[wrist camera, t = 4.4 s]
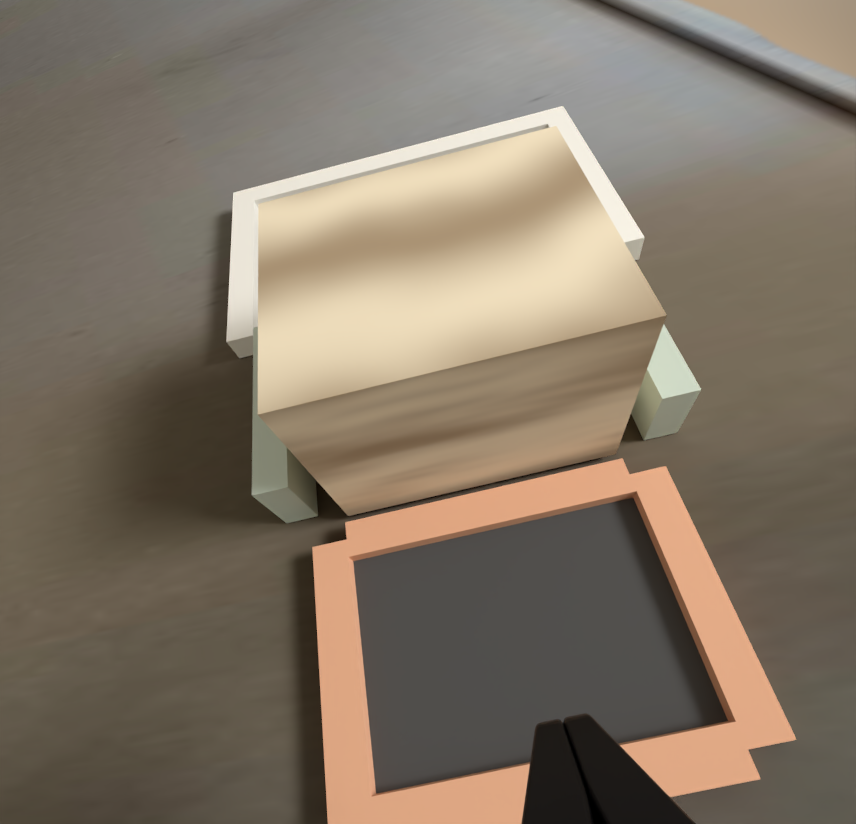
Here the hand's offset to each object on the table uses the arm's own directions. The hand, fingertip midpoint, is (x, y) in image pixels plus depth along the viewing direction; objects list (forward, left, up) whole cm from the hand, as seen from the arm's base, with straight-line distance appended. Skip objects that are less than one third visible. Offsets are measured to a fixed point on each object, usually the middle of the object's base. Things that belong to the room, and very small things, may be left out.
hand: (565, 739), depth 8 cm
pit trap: (+1, +3, -12) cm, 12 cm away
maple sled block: (+7, +12, -12) cm, 18 cm away
